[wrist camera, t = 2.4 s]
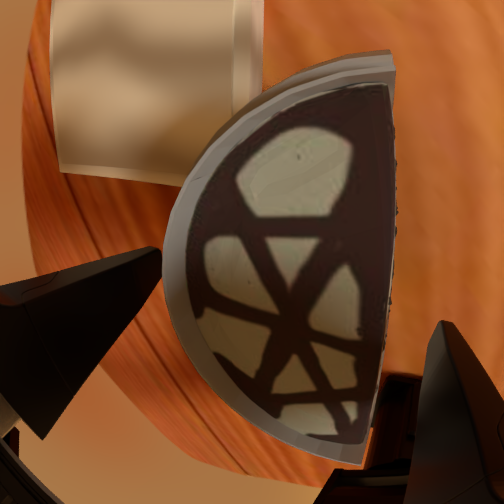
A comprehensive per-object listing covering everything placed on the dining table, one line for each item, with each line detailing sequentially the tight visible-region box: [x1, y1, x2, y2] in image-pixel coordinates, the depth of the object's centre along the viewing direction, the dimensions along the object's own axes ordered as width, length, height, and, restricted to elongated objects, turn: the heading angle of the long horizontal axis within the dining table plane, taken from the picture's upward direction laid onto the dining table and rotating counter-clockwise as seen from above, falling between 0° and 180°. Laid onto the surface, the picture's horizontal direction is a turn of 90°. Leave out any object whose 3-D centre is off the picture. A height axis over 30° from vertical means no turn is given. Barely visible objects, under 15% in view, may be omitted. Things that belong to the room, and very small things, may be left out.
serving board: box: [50, 0, 264, 187], centre depth 15 cm, size 16×16×2 cm
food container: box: [162, 50, 398, 466], centre depth 11 cm, size 12×6×10 cm, turn 10°
